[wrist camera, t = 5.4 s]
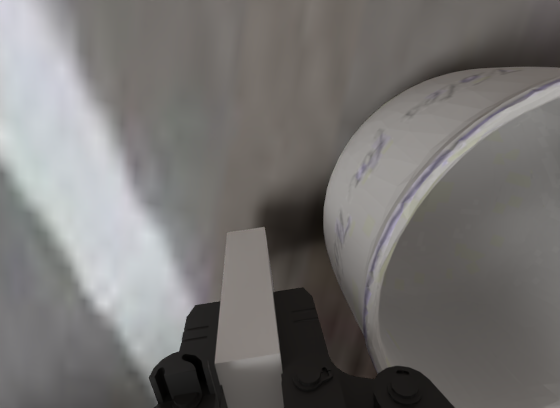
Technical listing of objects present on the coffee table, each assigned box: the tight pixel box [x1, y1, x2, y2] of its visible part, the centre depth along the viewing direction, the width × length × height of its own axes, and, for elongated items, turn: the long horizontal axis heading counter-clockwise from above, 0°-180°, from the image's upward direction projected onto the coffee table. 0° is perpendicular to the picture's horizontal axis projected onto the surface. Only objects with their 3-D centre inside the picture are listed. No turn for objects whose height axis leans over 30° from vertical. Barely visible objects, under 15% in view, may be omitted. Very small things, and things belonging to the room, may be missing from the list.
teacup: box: [323, 67, 560, 408], centre depth 13 cm, size 14×11×8 cm
